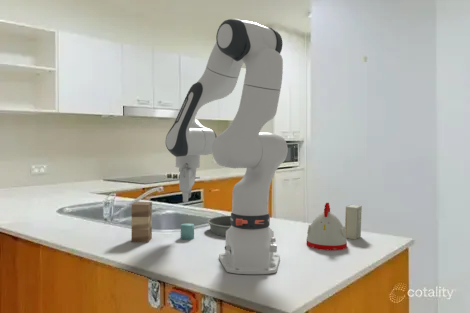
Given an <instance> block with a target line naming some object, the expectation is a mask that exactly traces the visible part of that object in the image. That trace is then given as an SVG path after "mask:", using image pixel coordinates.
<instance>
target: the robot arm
mask: <svg viewBox="0 0 470 313" xmlns="http://www.w3.org/2000/svg"><path fill="white" fill-rule="evenodd" d="M215 36H216V42H215V44H214V46H213V47H212V49H211V50H212V51H211V52H210V55H209V57H208V60H207V64H206V66H205V69H204V71H203V73H202V75H201V77H200V78H199V79H198V81H196V82H195V83H193V84H192V85H191V87H190V88H189V89H188V91H187V94H186V96H185V97H184V100H183V102H182V104H181V107H180V109H179V111H178V114H177V116H176V119H175V120H174V123H173V124H172V126H171V127H170V128H169V131H168V132H167V134H166V137H165V146H166V149H167V150H168V151H169V153H170V154H171V155H173V157H175V167H176V168H178V171H179V182H178V183H179V184H178V185H179V186H178V187H179V191H181V194H182V202H183V203H188V202H189V199H190V198H191V197H192V187H193V186H194V185H195V184H196V183H195V182H196V176H197V169H199V168H200V166H201V161H200V160H201V156H208V155H212V156H213V159H214V162H216V164H217V165H219V166H222V167H225V168H231V169H246V170H245V173H244V175H243V177H242V178H241V179H240V180H239V181H238V182H236V183H235V184H234V186H233V188H232V198H231V199H232V200H231V202H232V203H231V204H232V206H231V210H232V211H231V212H230V216H231V217H230V220H231V227H230V228H229V229H228V230H227V231H226V236H225V246H224V250H225V251H224V252H223V253H220V254H219V255H218V259H219V261H220V263H221V264H222V266H223V268H224V270H225V271H226V272H227V273H230V274H237V275H269V274H275V273H277V271H278V268H279V266H280V265H279V264H280V261H281V255H280V254H277V252H278V251H277V249H278V245H277V244H275V243H276V237H275V236H274V230H273V229H271V227H270V221H271V218H270V212H269V201H270V200H269V198H270V187H271V184H272V181H273V178H274V176H275V173H276V171H277V170H278V169H279V167H280V166H281V165H282V164H283V163H284V162H285V161H286V159H287V156H288V153H289V152H288V151H289V149H288V143H287V141H286V139H285V138H284V137H283V136H281V135H279V134H276V133H272V132H261V130H262V128H263V127H264V126H265V124H267V123H268V122H271V120H272V119H274V118H275V116H276V115H277V111H278V106H279V100H280V94H281V88H282V82H283V75H284V74H283V73H284V71H283V69H284V68H283V67H284V65H283V64H284V61H283V56H282V55H281V53H282V49H283V38H282V36H281V34H280V33H279V32H278V31H277V30H276V29H273V28H272V27H270V26H269V27H268V26H264V25H261V24H259V23H257V22H255V21H254V22H253V21H249V20H241V19H239V18H231V19H230V18H229V19H226V20H224V21H222V23H221V24H220V25H219V27H218V29H217V32H216V35H215ZM243 64H244V65H245V74H244V80H243V86H242V92H241V96H240V97H241V98H240V102H239V105H238V106H239V107H238V109H237V112H236V114H235V116H234V118H233V120H231V123H230V125H229V126H228V127H227V128H226V129H225V130H223V132H221V133H220V134H216V132H215V131H214V130H213V129H212V128H208V127H206V126H204V124H203V125H202V124H201V122H200V120H199V119H197V118H196V116H197V114H198V112H199V110H200V109H202V107H203V106H205V105H208V104H209V103H212V102H214V101H217V100H221V99H225V98H227V97H228V96H229V95H231V94H232V93H233V91H234V90H235V88H236V85H237V84H238V80H239V76H240V73H241V71H242V67H243Z"/></svg>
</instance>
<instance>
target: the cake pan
mask: <svg viewBox="0 0 470 313" xmlns="http://www.w3.org/2000/svg"><path fill="white" fill-rule="evenodd" d="M230 217H231V215H222V216H214V217H212V218H209V219H207V220H206V222H207V224H209V227H210V232H211V233H212V234H214V235H217V236H221V237H226V231H227V230H228V229H229V228H230V227H231V220H230Z"/></svg>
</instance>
